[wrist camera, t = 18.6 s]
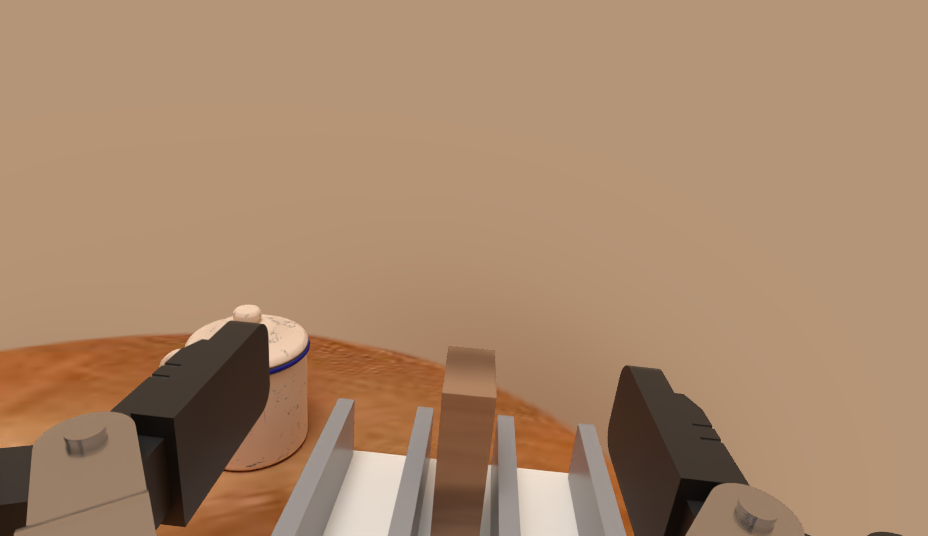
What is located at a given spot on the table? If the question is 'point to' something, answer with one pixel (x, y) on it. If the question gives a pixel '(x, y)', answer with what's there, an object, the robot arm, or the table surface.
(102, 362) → the table surface
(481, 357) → the walnut board
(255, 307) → the teacup with lid
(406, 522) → the rack
